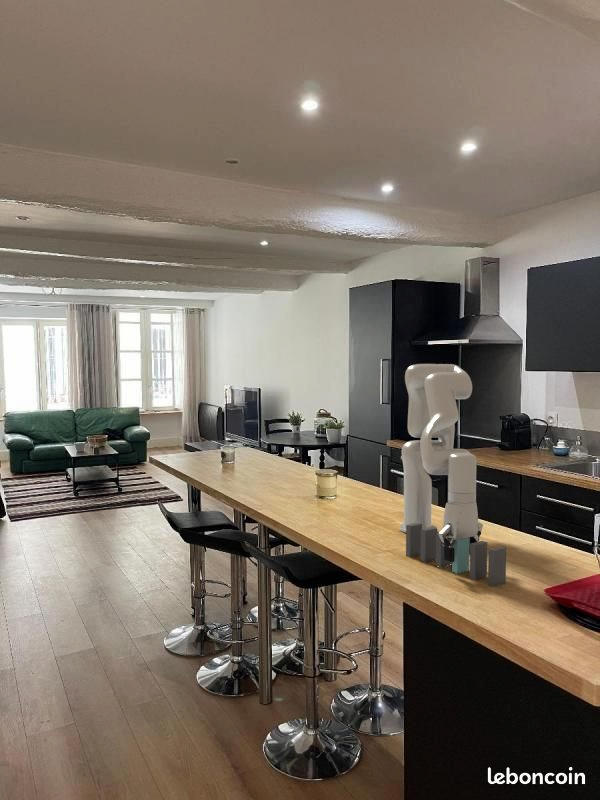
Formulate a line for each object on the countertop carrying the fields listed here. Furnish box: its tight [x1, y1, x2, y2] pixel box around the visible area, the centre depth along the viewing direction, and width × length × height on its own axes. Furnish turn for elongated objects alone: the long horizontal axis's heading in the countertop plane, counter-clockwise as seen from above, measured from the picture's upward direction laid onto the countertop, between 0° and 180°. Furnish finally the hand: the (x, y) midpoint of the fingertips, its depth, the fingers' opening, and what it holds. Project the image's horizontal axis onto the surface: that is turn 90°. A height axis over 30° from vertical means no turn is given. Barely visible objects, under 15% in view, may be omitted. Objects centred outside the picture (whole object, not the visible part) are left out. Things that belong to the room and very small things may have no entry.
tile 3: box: [435, 532, 452, 568], centre depth 175 cm, size 2×5×10 cm, turn 125°
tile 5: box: [469, 540, 488, 581], centre depth 165 cm, size 2×5×10 cm, turn 125°
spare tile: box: [451, 537, 470, 574], centre depth 170 cm, size 2×5×10 cm, turn 125°
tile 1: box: [405, 523, 422, 558], centre depth 185 cm, size 2×5×10 cm, turn 125°
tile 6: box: [487, 545, 507, 588], centre depth 160 cm, size 2×5×10 cm, turn 125°
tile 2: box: [420, 526, 438, 563], centre depth 180 cm, size 2×5×10 cm, turn 125°
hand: (460, 557), depth 170 cm, fingers open, 9 cm apart
